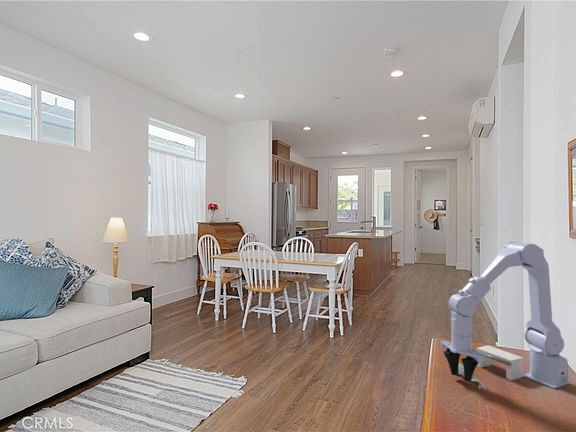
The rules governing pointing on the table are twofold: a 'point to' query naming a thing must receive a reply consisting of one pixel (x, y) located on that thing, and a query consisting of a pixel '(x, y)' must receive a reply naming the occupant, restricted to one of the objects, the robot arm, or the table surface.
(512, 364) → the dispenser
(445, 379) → the table surface
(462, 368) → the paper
